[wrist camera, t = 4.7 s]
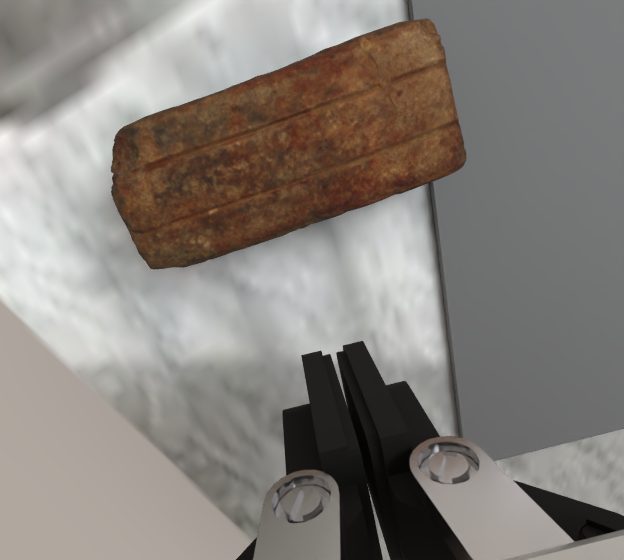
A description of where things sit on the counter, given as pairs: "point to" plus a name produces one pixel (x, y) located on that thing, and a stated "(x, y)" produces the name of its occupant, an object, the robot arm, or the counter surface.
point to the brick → (289, 147)
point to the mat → (534, 219)
